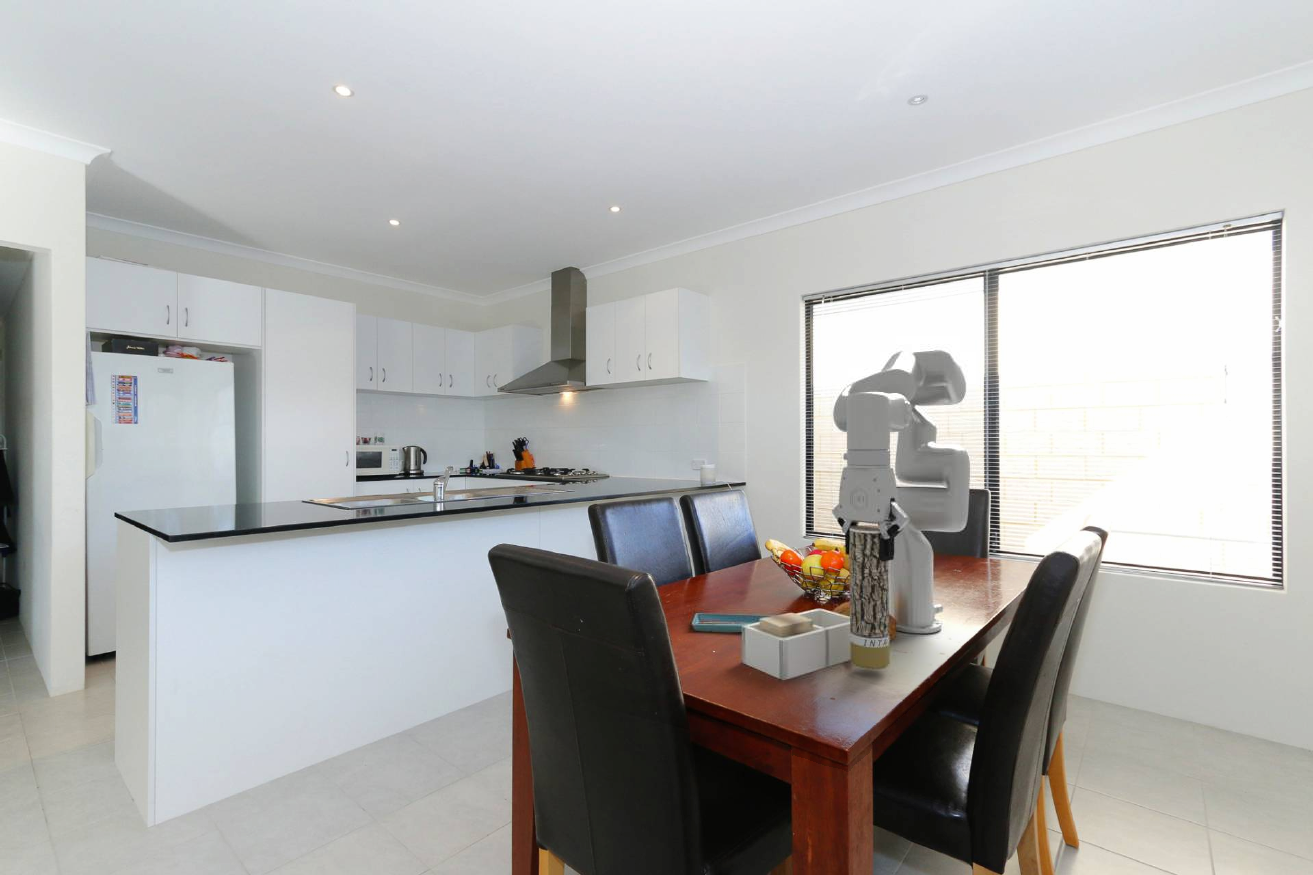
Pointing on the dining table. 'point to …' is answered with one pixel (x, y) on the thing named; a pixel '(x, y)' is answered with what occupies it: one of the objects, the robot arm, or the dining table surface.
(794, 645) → the divided box
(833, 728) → the dining table surface
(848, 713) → the dining table surface
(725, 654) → the dining table surface
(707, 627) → the teal serving tray
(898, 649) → the dining table surface
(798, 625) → the offcut top
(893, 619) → the croissant
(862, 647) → the bark print cylinder
